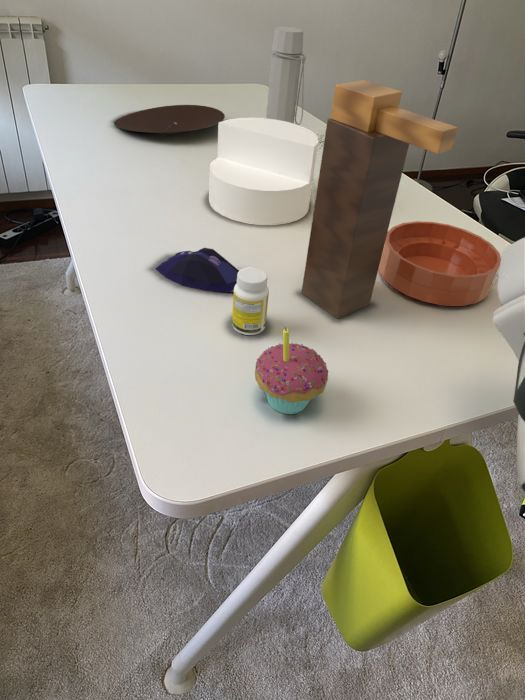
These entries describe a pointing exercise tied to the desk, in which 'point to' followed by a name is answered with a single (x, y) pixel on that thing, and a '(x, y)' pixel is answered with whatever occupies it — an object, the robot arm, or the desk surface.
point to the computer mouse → (200, 270)
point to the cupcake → (290, 375)
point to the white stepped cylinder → (262, 171)
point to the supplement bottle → (250, 301)
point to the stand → (351, 216)
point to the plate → (171, 119)
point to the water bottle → (285, 74)
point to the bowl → (439, 263)
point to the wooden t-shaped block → (388, 116)
